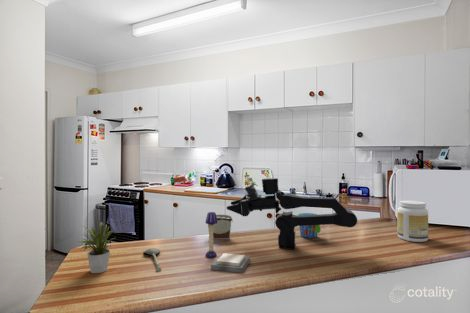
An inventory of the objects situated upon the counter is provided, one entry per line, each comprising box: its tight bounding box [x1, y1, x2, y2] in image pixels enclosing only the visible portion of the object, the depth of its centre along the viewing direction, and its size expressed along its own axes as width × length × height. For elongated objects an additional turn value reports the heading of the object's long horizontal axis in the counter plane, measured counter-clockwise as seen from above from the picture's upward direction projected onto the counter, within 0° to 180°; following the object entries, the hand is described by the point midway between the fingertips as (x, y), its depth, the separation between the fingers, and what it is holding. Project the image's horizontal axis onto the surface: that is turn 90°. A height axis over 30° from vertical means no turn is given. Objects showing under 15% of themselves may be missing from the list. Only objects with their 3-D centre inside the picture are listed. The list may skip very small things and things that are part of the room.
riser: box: [210, 252, 251, 274], centre depth 104 cm, size 11×11×2 cm
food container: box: [207, 214, 233, 240], centre depth 139 cm, size 12×6×10 cm, turn 84°
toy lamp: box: [205, 211, 218, 259], centre depth 113 cm, size 5×5×17 cm
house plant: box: [77, 221, 116, 274], centre depth 100 cm, size 14×14×16 cm
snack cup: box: [297, 212, 322, 239], centre depth 139 cm, size 16×10×10 cm
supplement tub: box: [396, 199, 429, 243], centre depth 135 cm, size 12×12×17 cm
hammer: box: [143, 247, 162, 272], centre depth 109 cm, size 22×3×7 cm
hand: (228, 205), depth 129 cm, fingers open, 9 cm apart
